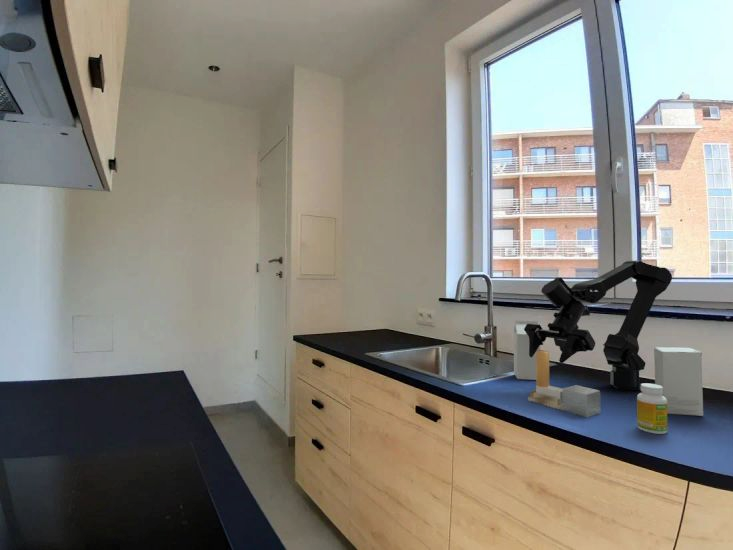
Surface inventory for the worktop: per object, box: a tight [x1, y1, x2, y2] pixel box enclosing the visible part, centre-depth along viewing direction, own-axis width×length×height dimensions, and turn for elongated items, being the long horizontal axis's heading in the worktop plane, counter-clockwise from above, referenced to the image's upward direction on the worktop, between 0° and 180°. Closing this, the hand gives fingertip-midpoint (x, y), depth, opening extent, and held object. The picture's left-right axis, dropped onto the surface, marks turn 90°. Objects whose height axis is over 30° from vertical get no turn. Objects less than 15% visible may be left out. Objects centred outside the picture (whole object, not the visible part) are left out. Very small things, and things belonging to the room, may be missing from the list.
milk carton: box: [513, 320, 541, 381], centre depth 134 cm, size 7×7×19 cm
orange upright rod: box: [535, 349, 563, 404], centre depth 106 cm, size 8×3×12 cm, turn 32°
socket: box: [562, 384, 601, 418], centre depth 99 cm, size 6×6×6 cm
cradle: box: [527, 389, 563, 411], centre depth 106 cm, size 10×6×2 cm, turn 32°
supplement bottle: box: [636, 382, 668, 435], centre depth 87 cm, size 5×5×10 cm
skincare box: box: [653, 346, 704, 417], centre depth 99 cm, size 8×7×16 cm
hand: (544, 359), depth 110 cm, fingers open, 9 cm apart
